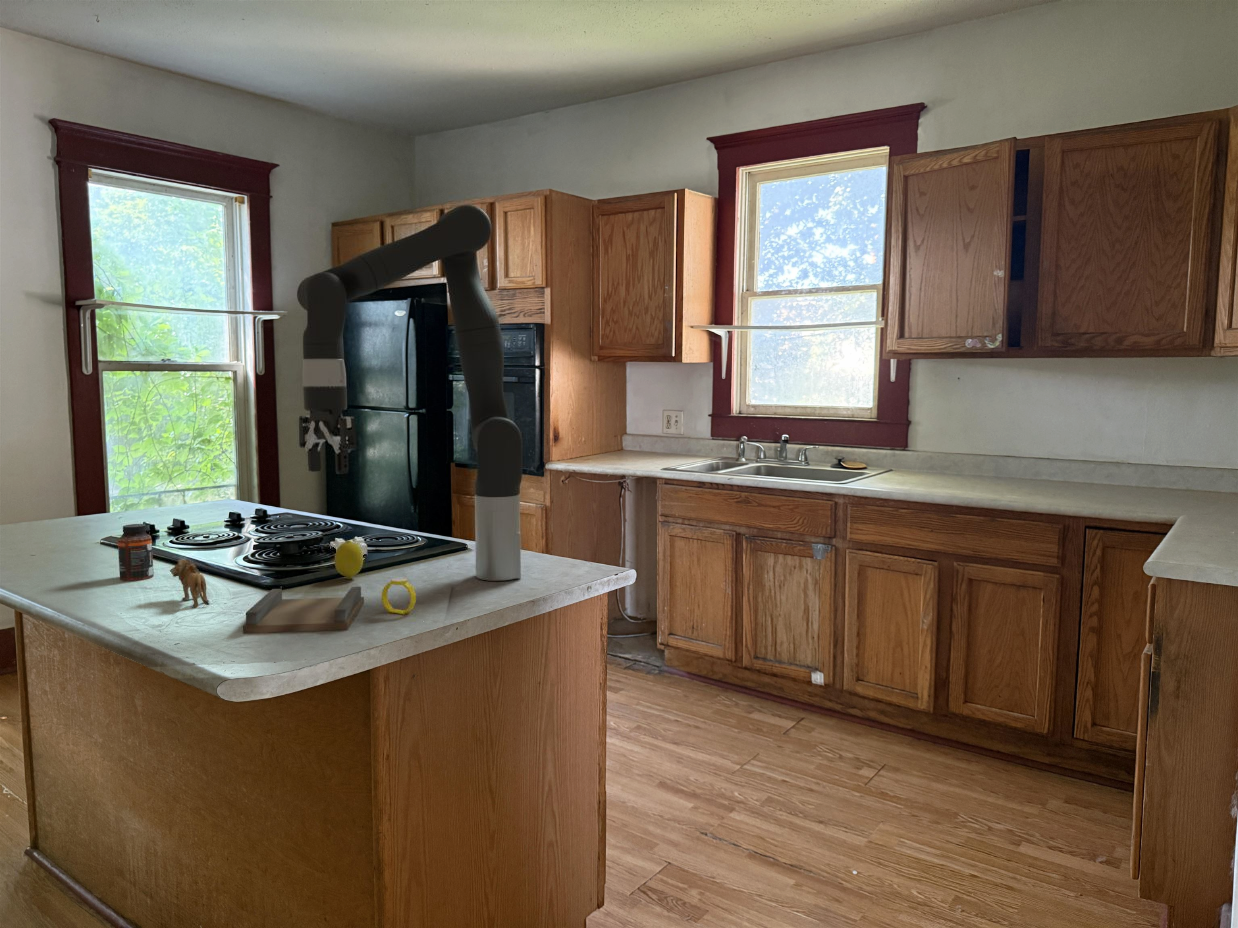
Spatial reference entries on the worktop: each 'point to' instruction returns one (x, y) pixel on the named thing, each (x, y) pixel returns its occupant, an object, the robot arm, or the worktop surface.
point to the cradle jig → (303, 613)
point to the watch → (404, 582)
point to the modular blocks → (358, 541)
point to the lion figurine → (191, 581)
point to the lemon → (348, 559)
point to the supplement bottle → (135, 553)
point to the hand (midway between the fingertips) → (328, 472)
